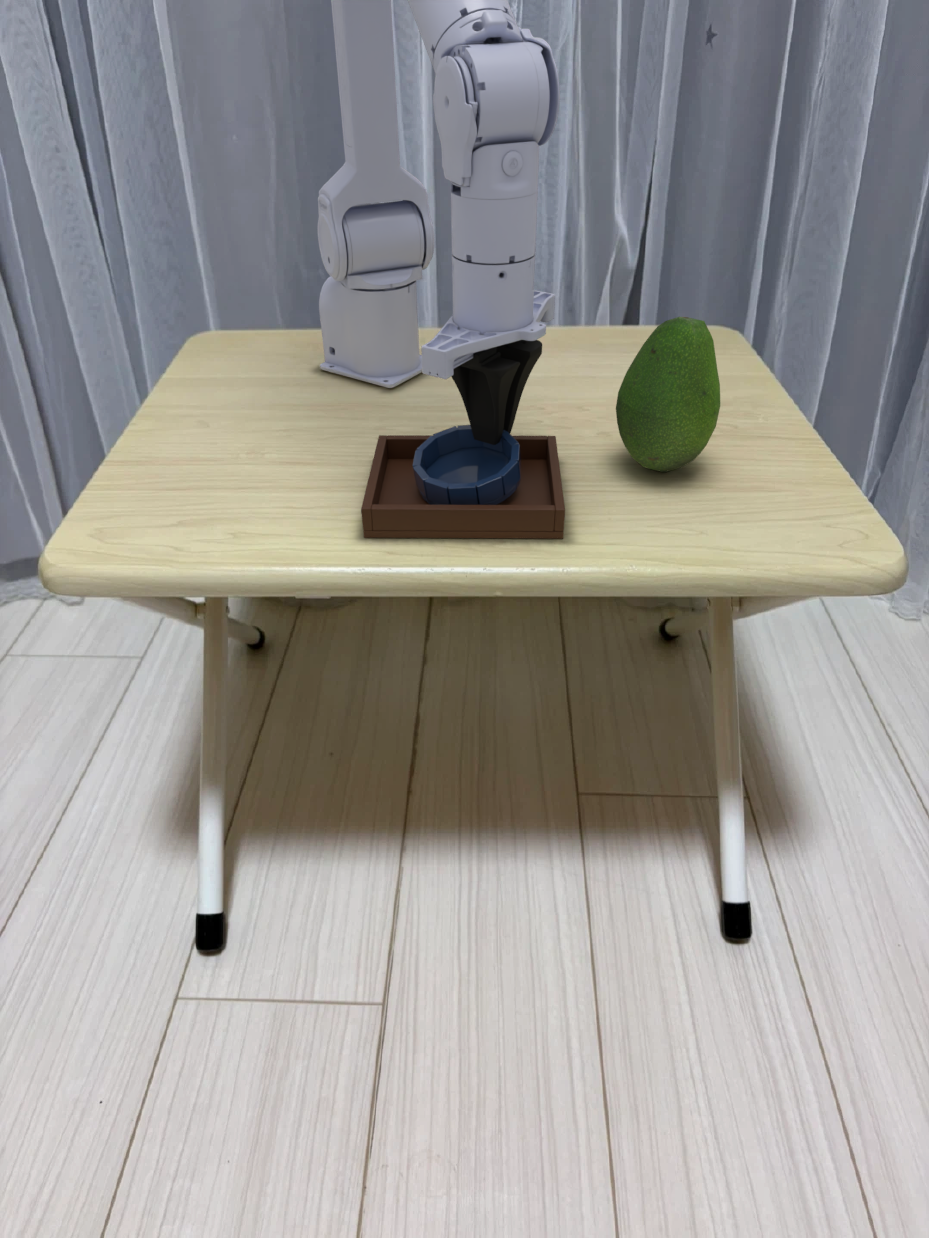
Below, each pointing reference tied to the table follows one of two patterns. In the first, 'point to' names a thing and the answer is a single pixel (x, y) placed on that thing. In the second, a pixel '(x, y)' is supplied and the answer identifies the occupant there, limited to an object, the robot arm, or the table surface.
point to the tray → (407, 515)
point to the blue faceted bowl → (466, 468)
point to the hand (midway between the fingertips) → (491, 437)
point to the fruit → (670, 396)
